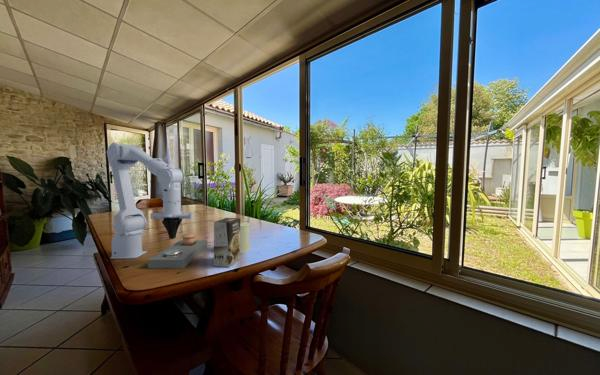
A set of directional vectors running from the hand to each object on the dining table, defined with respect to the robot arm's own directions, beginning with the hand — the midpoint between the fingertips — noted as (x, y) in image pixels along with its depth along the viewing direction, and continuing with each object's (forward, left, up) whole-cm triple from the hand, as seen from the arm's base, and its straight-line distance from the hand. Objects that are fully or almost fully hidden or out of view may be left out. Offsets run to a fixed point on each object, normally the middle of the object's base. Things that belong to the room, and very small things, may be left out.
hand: (172, 238), depth 89 cm
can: (+21, +15, -9) cm, 28 cm away
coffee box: (+20, 0, -9) cm, 22 cm away
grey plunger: (0, 0, -9) cm, 9 cm away
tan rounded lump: (0, +14, -6) cm, 15 cm away
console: (0, +7, -9) cm, 11 cm away
